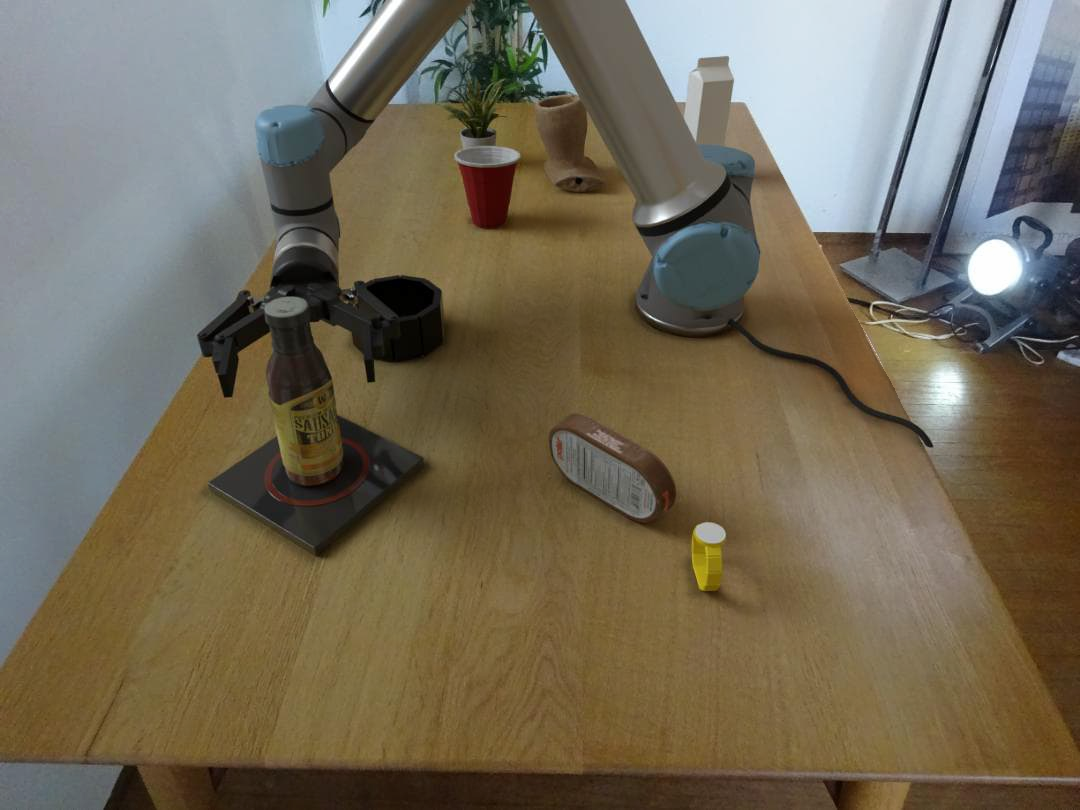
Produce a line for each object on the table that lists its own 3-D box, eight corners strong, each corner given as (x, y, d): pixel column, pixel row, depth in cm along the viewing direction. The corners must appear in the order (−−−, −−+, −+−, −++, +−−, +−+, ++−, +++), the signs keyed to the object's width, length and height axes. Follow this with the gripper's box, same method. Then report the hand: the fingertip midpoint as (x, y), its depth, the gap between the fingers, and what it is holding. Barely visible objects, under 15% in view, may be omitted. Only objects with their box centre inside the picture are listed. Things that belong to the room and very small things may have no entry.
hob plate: (424, 465, 89) (423, 456, 88) (316, 556, 78) (313, 547, 77) (322, 414, 96) (320, 405, 95) (209, 491, 85) (206, 481, 84)
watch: (724, 602, 74) (734, 558, 70) (694, 603, 74) (703, 559, 70) (710, 552, 79) (718, 509, 75) (682, 553, 79) (689, 510, 75)
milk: (718, 183, 152) (738, 60, 139) (689, 186, 151) (706, 63, 137) (705, 171, 157) (722, 51, 143) (676, 174, 156) (691, 53, 142)
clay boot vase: (530, 166, 158) (530, 87, 149) (590, 163, 160) (593, 85, 150) (542, 197, 146) (543, 114, 137) (606, 194, 148) (611, 111, 139)
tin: (673, 524, 82) (683, 462, 77) (655, 541, 80) (664, 478, 75) (562, 457, 90) (564, 397, 85) (543, 471, 88) (543, 410, 83)
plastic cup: (524, 209, 142) (524, 142, 135) (517, 236, 134) (516, 166, 126) (463, 206, 143) (460, 139, 136) (452, 233, 134) (448, 163, 127)
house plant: (477, 144, 168) (473, 61, 158) (530, 158, 161) (530, 73, 152) (431, 164, 159) (424, 78, 149) (486, 180, 152) (482, 91, 142)
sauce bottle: (312, 498, 83) (274, 334, 70) (273, 473, 86) (231, 311, 73) (360, 464, 87) (332, 304, 75) (321, 441, 90) (288, 283, 78)
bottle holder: (463, 329, 111) (460, 291, 107) (401, 372, 103) (396, 332, 99) (397, 304, 116) (393, 266, 112) (334, 343, 108) (327, 304, 104)
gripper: (415, 293, 99) (430, 395, 82) (202, 312, 95) (173, 423, 78) (410, 236, 94) (424, 333, 78) (185, 254, 90) (150, 359, 74)
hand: (298, 378), depth 78 cm, fingers open, 13 cm apart
